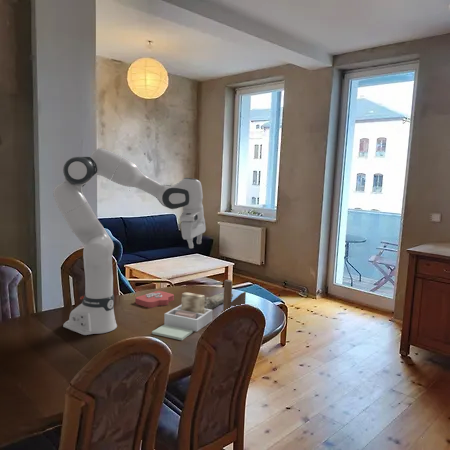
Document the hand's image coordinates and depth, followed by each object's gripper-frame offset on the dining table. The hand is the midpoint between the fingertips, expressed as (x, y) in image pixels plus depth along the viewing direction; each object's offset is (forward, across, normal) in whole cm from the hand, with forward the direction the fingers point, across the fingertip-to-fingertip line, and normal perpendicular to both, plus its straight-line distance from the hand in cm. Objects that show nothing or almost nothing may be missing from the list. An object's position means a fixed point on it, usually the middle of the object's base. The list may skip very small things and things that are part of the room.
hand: (195, 245), depth 184 cm
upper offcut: (+31, +8, -3) cm, 32 cm away
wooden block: (+36, -5, +14) cm, 39 cm away
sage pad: (+33, +19, -5) cm, 39 cm away
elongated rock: (+36, -24, -2) cm, 43 cm away
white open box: (+34, +5, -3) cm, 34 cm away
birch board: (+34, +2, -3) cm, 34 cm away
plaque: (+34, -16, -29) cm, 47 cm away
